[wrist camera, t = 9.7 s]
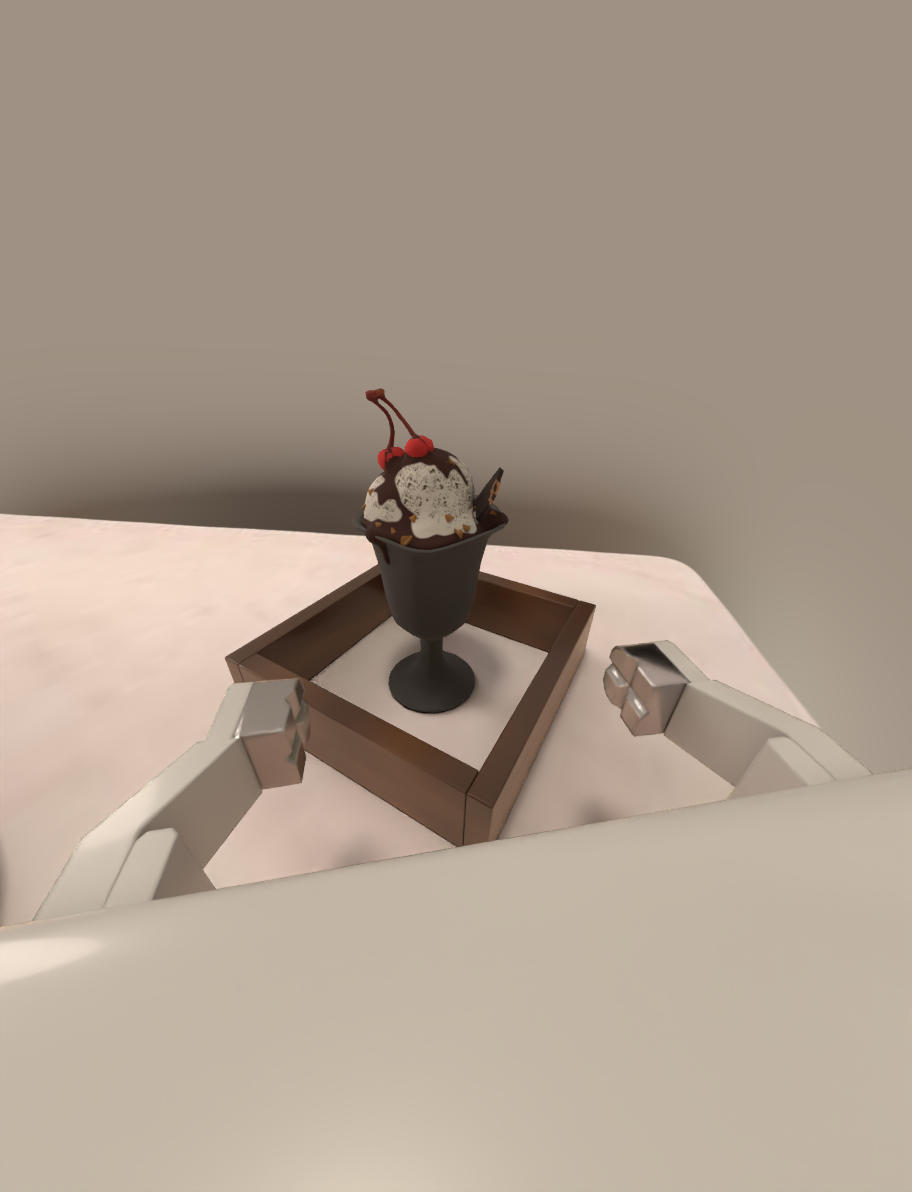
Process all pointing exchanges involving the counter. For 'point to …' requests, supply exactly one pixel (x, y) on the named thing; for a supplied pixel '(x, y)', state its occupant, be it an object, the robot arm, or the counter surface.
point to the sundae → (428, 558)
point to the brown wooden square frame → (390, 755)
